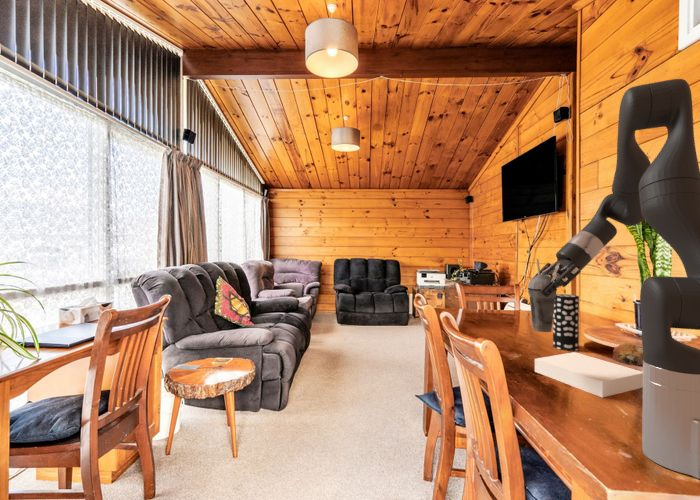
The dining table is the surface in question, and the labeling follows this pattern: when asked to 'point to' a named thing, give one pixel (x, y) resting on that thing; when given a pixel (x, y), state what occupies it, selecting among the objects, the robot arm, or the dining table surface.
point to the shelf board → (590, 373)
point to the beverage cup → (541, 303)
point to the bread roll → (629, 354)
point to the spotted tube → (566, 322)
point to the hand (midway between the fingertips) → (536, 292)
